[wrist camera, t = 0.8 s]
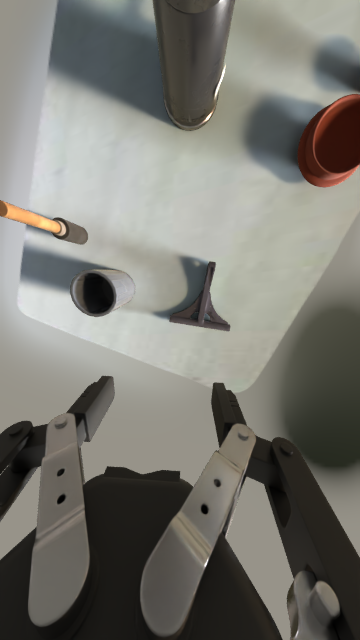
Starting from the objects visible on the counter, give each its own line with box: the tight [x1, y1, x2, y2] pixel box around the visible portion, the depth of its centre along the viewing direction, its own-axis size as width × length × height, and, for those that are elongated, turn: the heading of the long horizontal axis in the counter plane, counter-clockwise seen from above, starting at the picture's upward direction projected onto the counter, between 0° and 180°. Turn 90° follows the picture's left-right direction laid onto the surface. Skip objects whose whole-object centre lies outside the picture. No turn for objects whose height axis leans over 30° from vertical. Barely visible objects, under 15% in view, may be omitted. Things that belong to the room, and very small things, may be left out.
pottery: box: [298, 94, 360, 187], centre depth 27 cm, size 12×20×4 cm, turn 151°
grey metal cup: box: [70, 270, 135, 317], centre depth 33 cm, size 8×8×11 cm
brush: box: [0, 200, 88, 244], centre depth 28 cm, size 4×4×16 cm
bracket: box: [169, 261, 230, 331], centre depth 37 cm, size 14×15×3 cm
